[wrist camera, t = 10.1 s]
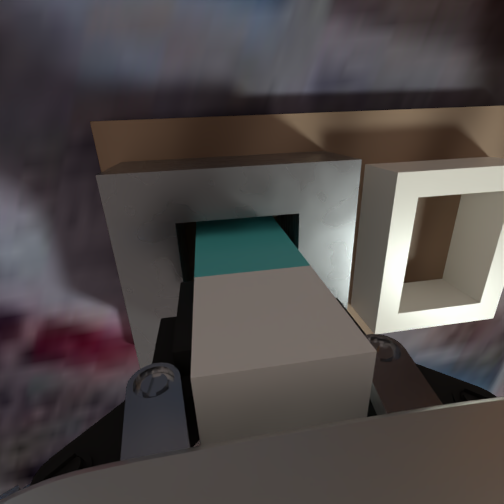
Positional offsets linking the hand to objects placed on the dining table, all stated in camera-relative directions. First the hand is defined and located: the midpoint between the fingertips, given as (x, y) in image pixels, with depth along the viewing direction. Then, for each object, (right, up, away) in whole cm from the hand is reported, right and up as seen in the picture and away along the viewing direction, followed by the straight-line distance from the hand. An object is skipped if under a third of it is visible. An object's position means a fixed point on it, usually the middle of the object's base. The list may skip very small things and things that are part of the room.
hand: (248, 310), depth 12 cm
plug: (-1, +2, +4) cm, 4 cm away
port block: (-1, +2, +5) cm, 6 cm away
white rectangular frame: (+10, +3, +7) cm, 12 cm away
